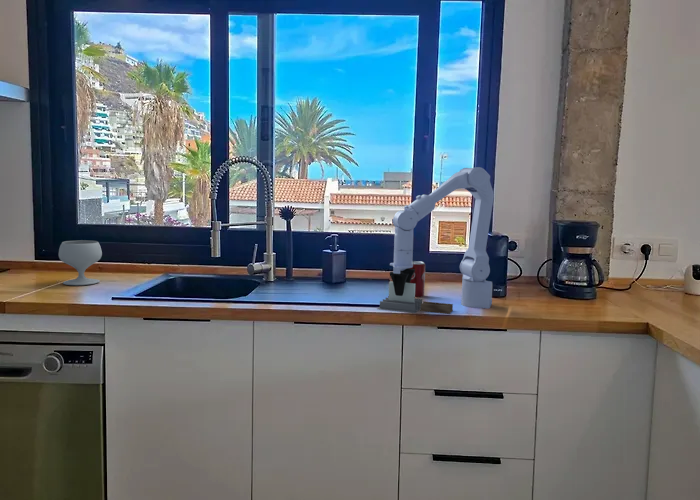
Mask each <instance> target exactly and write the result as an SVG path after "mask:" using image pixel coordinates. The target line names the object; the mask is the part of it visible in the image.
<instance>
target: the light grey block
mask: <svg viewBox="0 0 700 500" xmlns="http://www.w3.org/2000/svg"><path fill="white" fill-rule="evenodd" d="M388 296H389V300H395V301H405V302H415V298H416V297H415V284H414V283H405V287H404V293H403V296H397V295H395V290H394V285H393V281H391V280H390V281H389V283H388Z"/></svg>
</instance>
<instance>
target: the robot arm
mask: <svg viewBox="0 0 700 500" xmlns="http://www.w3.org/2000/svg"><path fill="white" fill-rule="evenodd" d="M460 189H465V190H466V191H467V192H469V193H470V194H471V196H473V198H474V199H475V201H474V206H473V207H474V208H473V215H472V221H471V229H470V236H469V243H468V248H467V250H466V251H464V255H463V258H462V260H461V262H460V263H459V271H460V273H461V274H462V278H461V280H462V282H461V283H462V284H461V296H460V297H461V300H460V301H461V302H460V303H461V304H460V305H462V306H463V307H467V308H475V309H476V308H479V309H488V310H489V309H490V308H491V306H492V303H493V281H490V280H486V279H488V277H489V275H490V273H491V268H490V267H491V266H490V264H489V263H490V262H489V261H490V257H489V255H488V253H487V243H488V238H489V230H490V225H491V219H492V210H493V204H494V199H495V195H494V194H495V193H494V189H493V187H492V182H491V174H489V173H488V172H487V171H486V169H484V168H483V167H479V166H477V167H464V168H462V169H460V170H459V171H458V172H457V171H456V172H454V173H453V174H452V175H451V176H450V177H449V178H448V179H446V180H445V181H444V182H442V183H441V185H439V186H438V187H437V188H435V189H434V190H433V191H432V192H431V193H429V194H422V195H420V194H419V195H417V196H415V200H413V202H411V203H410V204H408V205H407V204H406V205H404V206H403V209H404V210H403V209H402V210H401V209H400V210H397V212H395V213H394V216H393V218H392V220H391V221H392V224H393V226H394V236H393V237H394V239H393V242H394V243H393V246H394V247H393V262H390V263H389V266H391V267H393V268H392V269H393V270H392V271H390V272H389V276H390V279H391V280H392V282H393V285H394V290H395V295H397V296H403V293H404V287H405V283H410V281H411V278H412V276H413V274H414V272H415V269H410V268H412V267H413V264H412V261H413V255H414V254H413V253H414V251H413V250H414V228H416V226H417V224H418V222H419V221H421V220H422V219H423V218H425V217H426V216H427V215H430V213H431V212H433V211H434V210H435V209H436V204H437V203H438V202H440V201H441V200H443V199H444V198H446V197H447V196H449V195H450V194H451V193H453V192H454V191H456V190H460Z"/></svg>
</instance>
